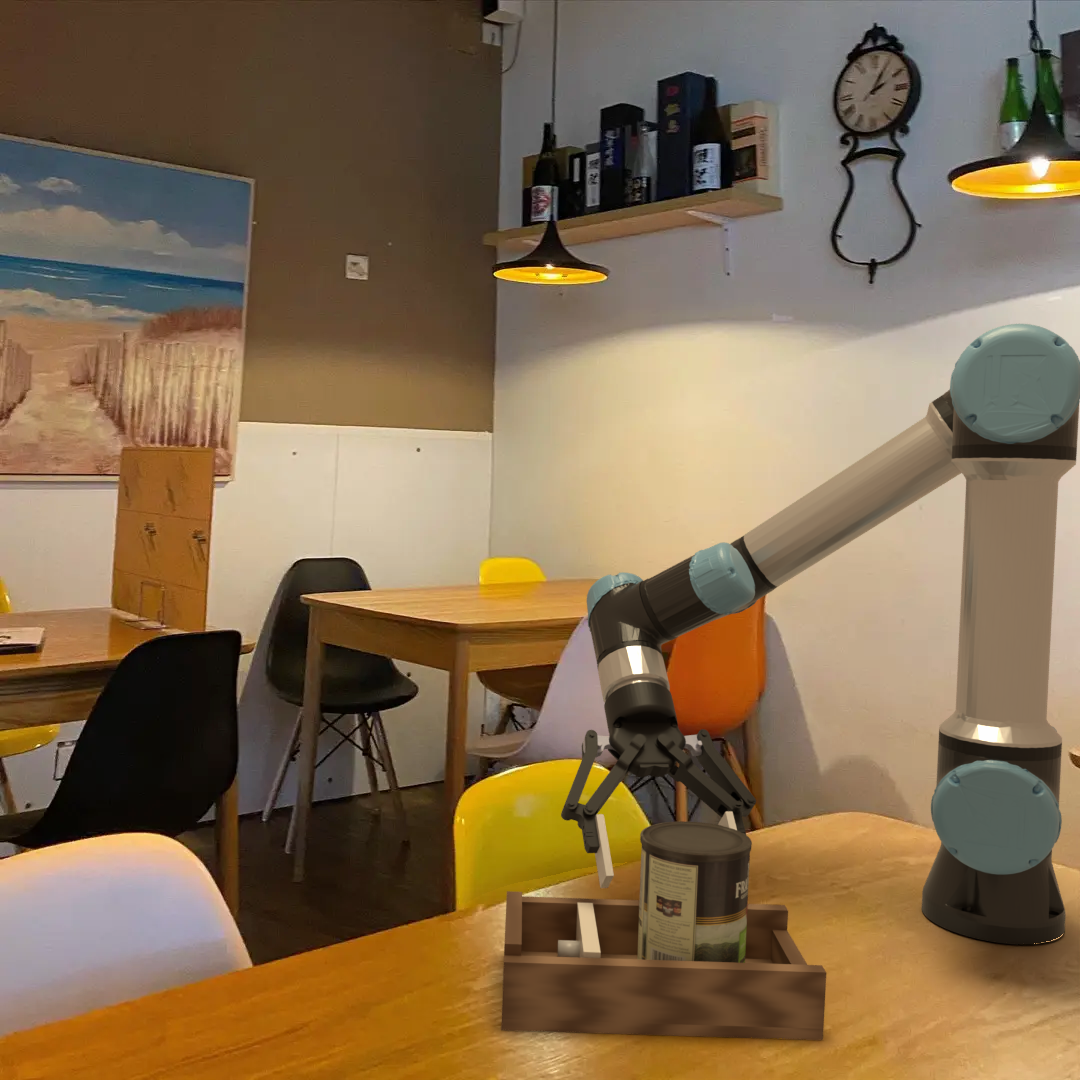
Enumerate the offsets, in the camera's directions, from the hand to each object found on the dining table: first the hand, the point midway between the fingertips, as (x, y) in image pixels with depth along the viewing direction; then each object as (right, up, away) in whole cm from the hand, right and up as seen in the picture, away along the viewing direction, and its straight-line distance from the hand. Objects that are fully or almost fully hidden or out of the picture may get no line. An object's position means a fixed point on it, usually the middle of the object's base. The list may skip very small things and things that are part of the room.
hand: (674, 880), depth 112 cm
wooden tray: (-3, -9, -5) cm, 11 cm away
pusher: (-10, -8, -5) cm, 13 cm away
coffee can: (+1, -9, -5) cm, 10 cm away
